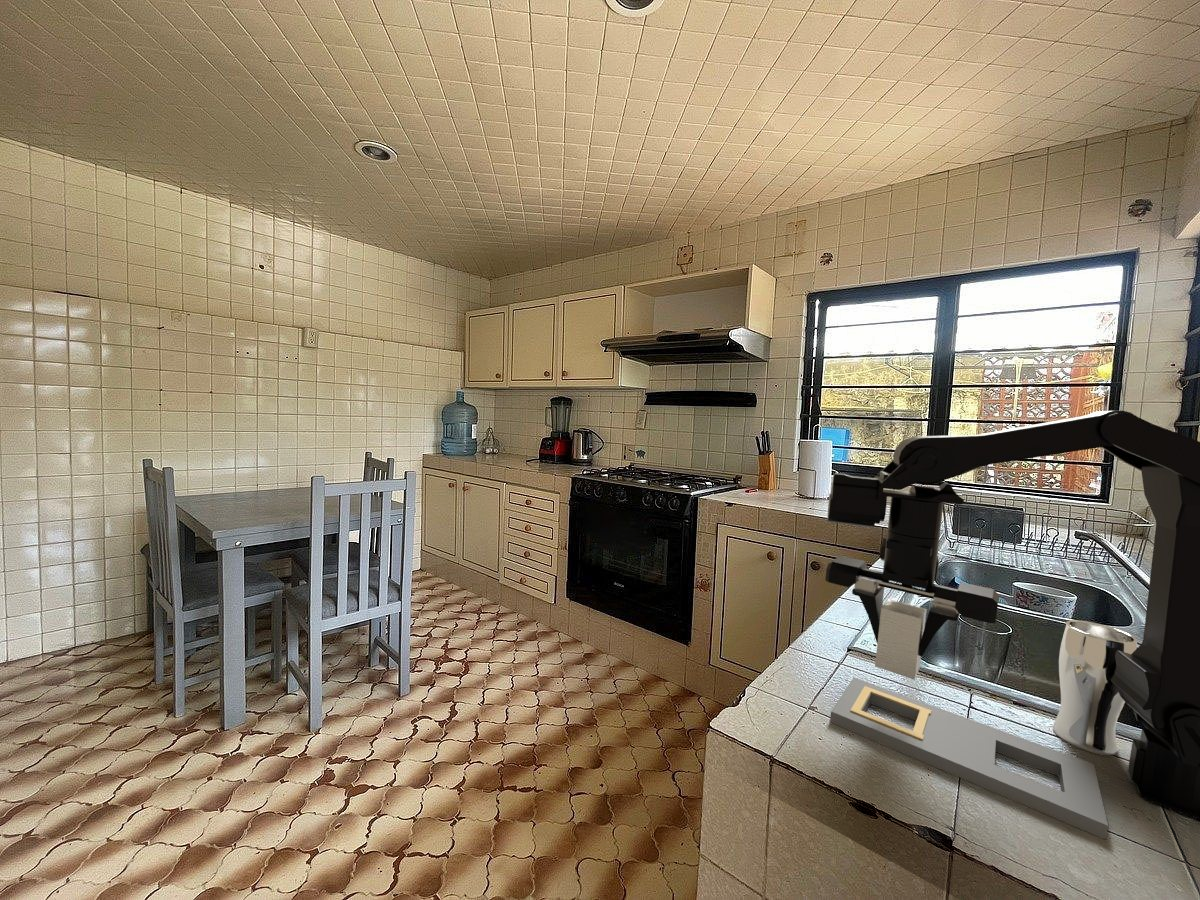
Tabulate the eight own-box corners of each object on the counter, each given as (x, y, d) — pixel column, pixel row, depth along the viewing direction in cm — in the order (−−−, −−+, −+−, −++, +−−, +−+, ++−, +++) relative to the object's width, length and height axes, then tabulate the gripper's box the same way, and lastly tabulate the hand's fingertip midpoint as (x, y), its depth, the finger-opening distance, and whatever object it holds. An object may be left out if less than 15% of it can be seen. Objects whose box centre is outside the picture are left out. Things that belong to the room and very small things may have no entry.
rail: (1091, 775, 59) (1093, 762, 59) (1105, 839, 50) (1108, 823, 50) (852, 686, 75) (853, 675, 75) (829, 722, 66) (831, 709, 66)
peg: (919, 666, 66) (926, 609, 66) (914, 679, 63) (921, 618, 62) (881, 654, 69) (888, 599, 69) (874, 666, 66) (881, 607, 65)
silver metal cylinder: (1036, 728, 68) (1052, 621, 66) (1067, 719, 70) (1082, 617, 69) (1102, 763, 61) (1121, 646, 60) (1133, 752, 64) (1152, 640, 62)
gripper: (1006, 538, 65) (991, 653, 66) (850, 512, 77) (840, 610, 78) (1004, 554, 56) (987, 686, 58) (829, 522, 68) (818, 632, 70)
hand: (899, 648), depth 66 cm, fingers closed on peg, 4 cm apart
